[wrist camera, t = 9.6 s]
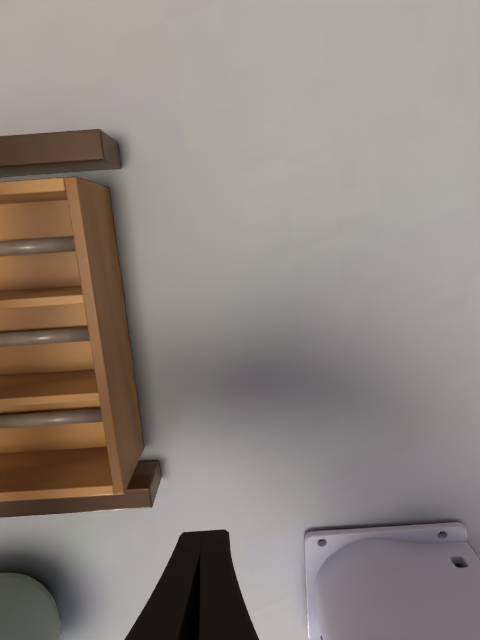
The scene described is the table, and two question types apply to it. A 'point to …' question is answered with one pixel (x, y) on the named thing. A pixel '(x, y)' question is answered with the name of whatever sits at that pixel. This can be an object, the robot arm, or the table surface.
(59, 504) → the stand
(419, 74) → the table surface
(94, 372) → the cutlery tray
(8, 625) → the cup
